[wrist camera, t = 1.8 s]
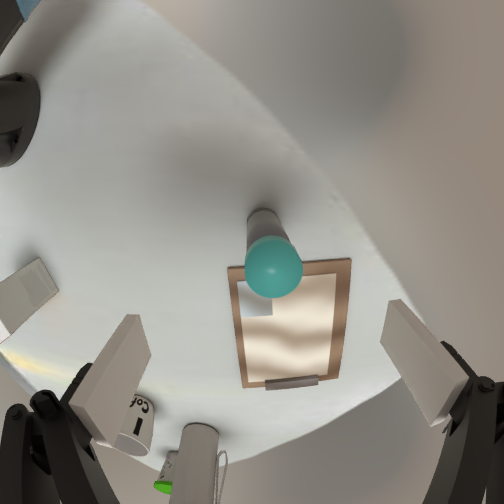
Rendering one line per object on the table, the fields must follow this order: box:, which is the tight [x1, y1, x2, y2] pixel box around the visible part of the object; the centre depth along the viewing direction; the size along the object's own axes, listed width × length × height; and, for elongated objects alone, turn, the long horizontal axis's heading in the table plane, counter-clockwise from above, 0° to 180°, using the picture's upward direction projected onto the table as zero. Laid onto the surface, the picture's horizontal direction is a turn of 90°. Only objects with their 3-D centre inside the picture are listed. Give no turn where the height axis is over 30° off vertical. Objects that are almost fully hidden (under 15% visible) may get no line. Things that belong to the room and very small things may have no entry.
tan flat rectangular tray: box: [227, 258, 352, 390], centre depth 35 cm, size 20×15×2 cm
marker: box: [245, 208, 303, 298], centre depth 24 cm, size 4×4×14 cm
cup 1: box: [113, 395, 154, 457], centre depth 36 cm, size 8×8×10 cm
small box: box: [0, 258, 59, 344], centre depth 27 cm, size 8×6×13 cm
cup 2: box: [154, 451, 178, 494], centre depth 40 cm, size 8×8×15 cm
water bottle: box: [169, 424, 228, 504], centre depth 32 cm, size 9×8×25 cm
